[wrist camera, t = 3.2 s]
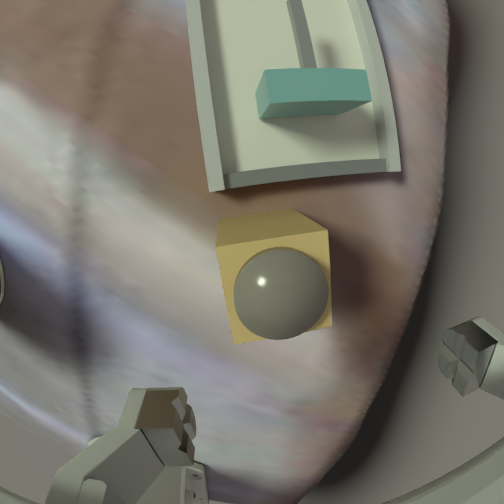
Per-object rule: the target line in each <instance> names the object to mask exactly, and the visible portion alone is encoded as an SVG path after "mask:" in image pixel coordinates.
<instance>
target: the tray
mask: <svg viewBox="0 0 504 504" xmlns="http://www.w3.org/2000/svg"><path fill="white" fill-rule="evenodd" d="M185 1H186V12H187V22H188V32H189V42H190V51H191V60H192V68H193V77H194V85H195V93H196V101H197V109H198V116H199V124H200V131H201V138H202V145H203V152H204V159H205V166H206V173H207V179H208V186H209V192H214V191H220V190H225V189H230V188H236V187H243V186H250V185H257V184H265V183H272V182H280V181H288V180H297V179H306V178H315V177H325V176H336V175H347V174H359V173H373V172H396V171H401V164H400V154H399V145H398V136H397V129H396V122H395V115H394V109H393V103H392V97H391V92H390V87H389V82H388V77H387V72H386V68H385V63H384V59H383V55H382V51H381V47H380V43H379V40H378V36H377V33H376V29H375V26H374V22H373V19H372V16H371V13H370V10H369V7H368V4H367V1H366V0H301V1H302V5H303V8H304V12H305V16H306V20H307V24H308V29H309V33H310V37H311V42H312V46H313V51H314V55H315V60H316V65H317V68H345V69H362V70H366V72H367V77H368V82H369V87H370V92H371V97H372V101H371V102H368V103H366V104H364V105H361V106H359V107H356V108H354V109H352V110H349V111H347V112H345V113H342V114H337V115H310V116H294V117H281V118H270V119H260V120H259V115H258V108H257V102H256V95H255V92H256V90H257V87H258V85H259V82H260V80H261V77H262V75H263V72H264V70H268V69H285V68H300V64H299V59H298V54H297V49H296V44H295V39H294V34H293V30H292V25H291V21H290V17H289V12H288V8H287V4H286V2H287V0H185Z"/></svg>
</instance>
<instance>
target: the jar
mask: <svg viewBox="0 0 504 504" xmlns="http://www.w3.org/2000/svg"><path fill="white" fill-rule="evenodd" d="M216 251H217V257H218V263H219V268H220V274H221V279H222V284H223V290H224V295H225V300H226V306H227V311H228V316H229V321H230V326H231V331H232V336H233V341H234V344H238V343H245V342H252V341H258V340H264V339H274V340H282V339H288V338H292V337H295V336H298V335H300V334H302V333H304V332H307V331H312V330H317V329H322V328H327V327H331V326H332V303H331V276H330V257H329V241H328V230H327V229H325V228H324V227H322V226H320V225H319V224H317V223H316V222H314V221H312V220H311V219H309V218H308V217H306V216H304V215H303V214H301V213H299V212H298V211H296V210H294V209H286V210H279V211H272V212H265V213H258V214H251V215H245V216H238V217H231V218H225V219H219V226H218V234H217V241H216Z"/></svg>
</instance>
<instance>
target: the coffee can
mask: <svg viewBox="0 0 504 504" xmlns="http://www.w3.org/2000/svg"><path fill="white" fill-rule="evenodd" d="M4 290H5V279H4V272H3V266H2V262H1V259H0V304H1V302H2V300H3V296H4Z"/></svg>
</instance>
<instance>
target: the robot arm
mask: <svg viewBox="0 0 504 504" xmlns="http://www.w3.org/2000/svg"><path fill="white" fill-rule="evenodd" d="M442 341H443V343H444V346H443V347H442V349H441V350H440V353H439V357H438V363H439V368H440V370H441V372H442V373H443V375H444V376H445V377H447V378H450V379H452V385H453V386H454V387H455V388H456V389H457V391H458V392H459V393H460V394H461V395H462V396H464V395H466V394H468V393H470V392H472V391H474V390H476V389H478V388H480V387H481V388H480V389H483V390H484V391H487V392H489V393H491V394H493V395H495V396H498V397H500V398H502V399H504V333H503V332H501V331H500V330H499V329H497V328H496V327H494V326H493V325H492V324H491V323H489V322H488V321H487V320H485V319H484V318H483V317H478V316H477V317H475V318H473V319H471V320H468V321H467V322H464V323H462V324H459V325H457V326H454V327H452V328H449V329H447V330H446V332H445V333H444V335H443V340H442ZM186 403H187V395H186V392H185V390H184V388H182V387H168V388H133V389H132V390H131V391H130V392H129V395H128V398H127V401H126V403H125V406H124V409H123V412H122V415H121V418H120V420H119V423H118V426H117V428H112V429H110V430H109V431H108V432H107V433H105V434H104V435H103V436H101V437H97V438H94V439H92V440H91V441H90V442H89V443H88V445H87V448H86V449H85V450H83V451H82V452H81V453H79V454H78V455H77V456H75V457H74V458H73V459H71V460H70V461H69V462H67V463H66V464H65V465H63V466H62V467H61V468H59V469H58V470H57V472H56V475H55V477H54V480H53V482H52V485H51V488H50V490H49V493H48V495H47V498H46V501H45V504H209V499H208V491H207V484H206V476H205V468H204V466H203V465H201V464H198V463H195V462H194V452H195V447H194V445H193V443H192V440H193V439H194V437H195V436H196V422H195V416H194V412H193V410H192V407H191V406H189V405H188V404H186ZM0 504H39V503H37V502H34V501H32V500H29V499H27V498H25V497H22V496H20V495H18V494H16V493H14V492H11V491H9V490H7V489H5V488H3V487H1V486H0ZM382 504H504V437H503V438H502V439H500V440H499V441H497V442H496V443H495V444H493V445H492V446H490V447H489V448H488V449H486V450H485V451H483V452H482V453H480V454H479V455H477V456H476V457H474V458H473V459H471V460H469V461H468V462H466V463H465V464H463V465H461V466H460V467H458V468H456V469H454V470H453V471H451V472H449V473H447V474H446V475H444V476H442V477H440V478H438V479H436V480H434V481H432V482H430V483H428V484H426V485H424V486H422V487H420V488H418V489H415V490H413V491H411V492H409V493H407V494H405V495H402V496H400V497H397V498H395V499H392V500H390V501H387V502H385V503H382Z"/></svg>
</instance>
